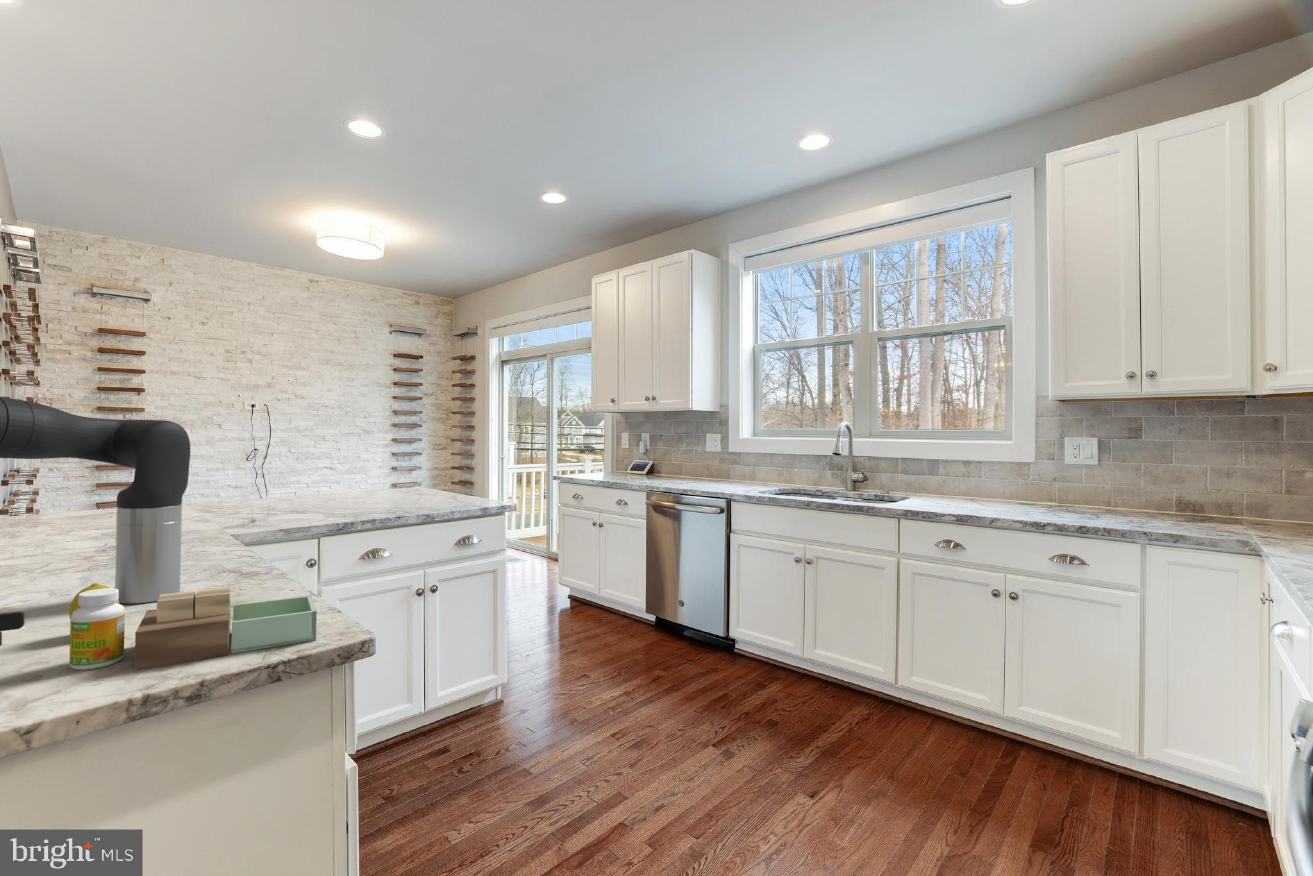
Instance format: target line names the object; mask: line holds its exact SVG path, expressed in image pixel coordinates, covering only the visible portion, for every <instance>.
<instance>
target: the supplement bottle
mask: <svg viewBox="0 0 1313 876" xmlns="http://www.w3.org/2000/svg"><path fill="white" fill-rule="evenodd" d="M118 598H119V590H118V589H115V587H114V588H112V587H110V588H104V589H95V590H90V591H85V592H82V593H80V594H79V595H78V603H79V604H78V605H79V606H81V607H80V609H78V610H76V611H74V612H73V614H72V615H71V620H70V624H69V625H70V626H69V628H70V631H69V632H70V633H69V668H71V669H73V670H78V671H83V670H84V671H86V670H93V669H99V668H103V667H108V666H111V665H114V664H116V663H119V662H120V661H121V660H122V659H123V658H124V656H125V654H124V653H125V621H126V619H125V618H126V610H125V606H124V605H123V604H121V603H119V604H116V601H117V600H118Z"/></svg>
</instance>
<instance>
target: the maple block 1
mask: <svg viewBox="0 0 1313 876" xmlns="http://www.w3.org/2000/svg"><path fill="white" fill-rule="evenodd" d="M196 593H197V590H193V591H192V590H191V591H183V592H181V591H180V592H179V593H170V594H161V595H160V597H159V599H158V600H157V601H156V609H157V623H159V622H167V621H175V620H183V619H191V618H193V616H194V613H195V596H196Z"/></svg>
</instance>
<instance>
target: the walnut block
mask: <svg viewBox="0 0 1313 876" xmlns="http://www.w3.org/2000/svg"><path fill="white" fill-rule="evenodd" d="M230 633H231V609H230V610H229V614H223V615H215V616H207V617H199V618H195V613H194V616H193V618H191V619H183V620H175V621H167V622H159V623H157V608H156V609H149V610H146V612H145V614H144V616H143V617H142V619H141V622H140V624H139V625H138V627H137V629H136V630H135V634H134V635H135V636H134V637H135V639H134V641H135V642H134V670H142V669H147V668H149V669H150V668H155V667H161V666H167V665H168V666H169V665H174V664H180V663H186V662H194V661H200V660H204V659H205V660H206V659H212V658H219V657H225V656H228V654H229V644H230V636H231V635H230Z"/></svg>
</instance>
